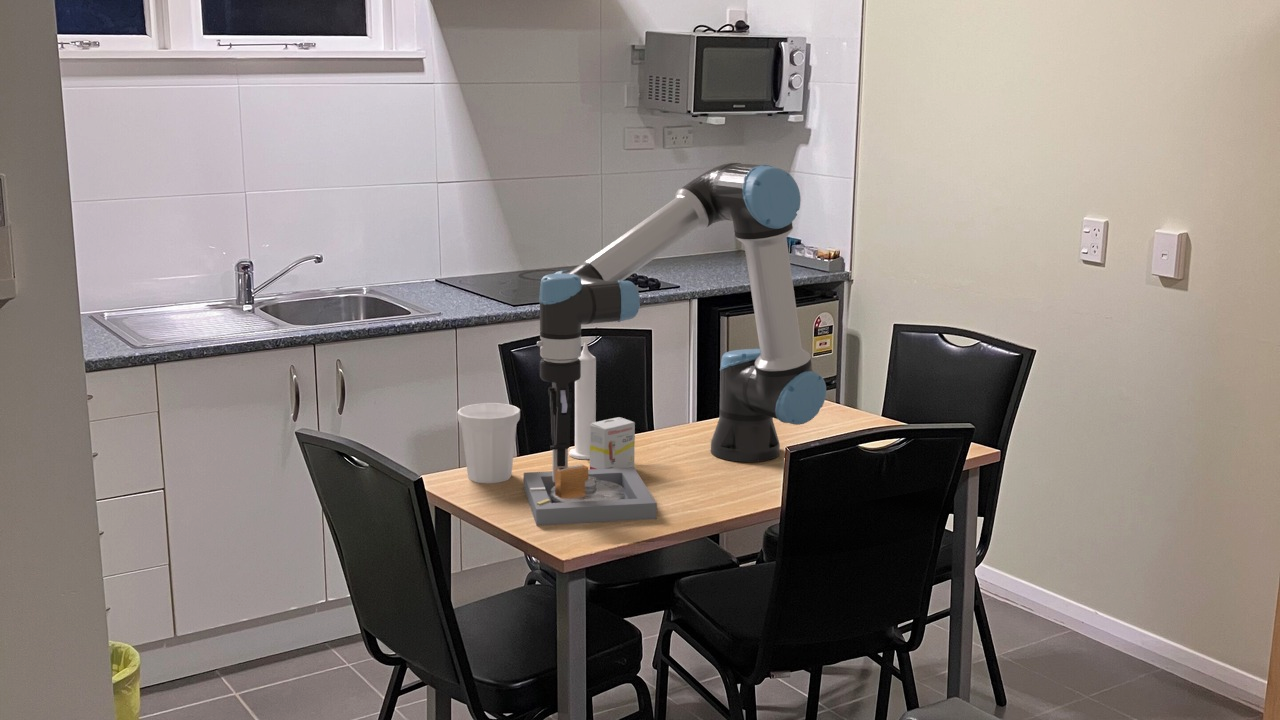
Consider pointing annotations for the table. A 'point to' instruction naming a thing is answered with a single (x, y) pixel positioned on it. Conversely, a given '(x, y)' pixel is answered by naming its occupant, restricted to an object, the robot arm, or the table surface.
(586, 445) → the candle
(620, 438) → the ink box
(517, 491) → the table surface
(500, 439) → the cup
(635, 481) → the housing
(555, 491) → the dial
